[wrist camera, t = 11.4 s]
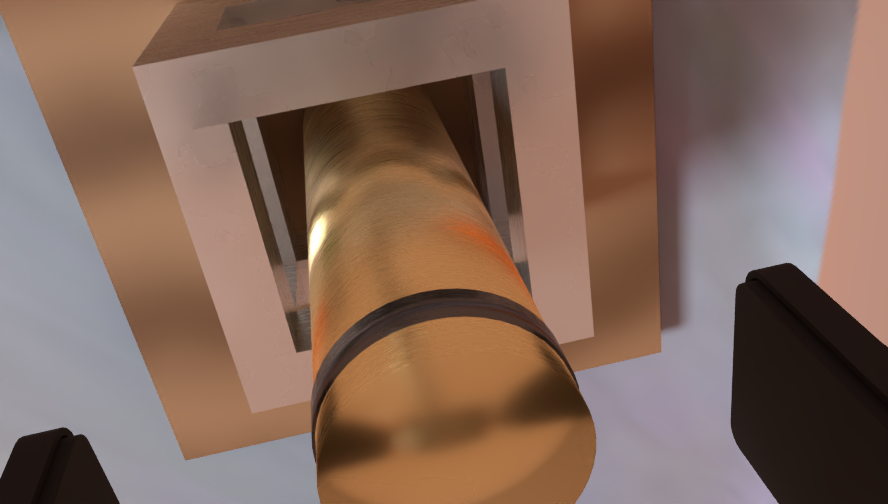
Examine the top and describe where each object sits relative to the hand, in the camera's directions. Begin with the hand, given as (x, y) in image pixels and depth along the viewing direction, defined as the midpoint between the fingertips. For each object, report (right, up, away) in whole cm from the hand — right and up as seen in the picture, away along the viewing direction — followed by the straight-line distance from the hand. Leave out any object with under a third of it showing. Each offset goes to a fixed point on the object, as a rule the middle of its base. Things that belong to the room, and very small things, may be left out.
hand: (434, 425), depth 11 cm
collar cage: (-2, +6, +13) cm, 15 cm away
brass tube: (-2, +6, +13) cm, 15 cm away
